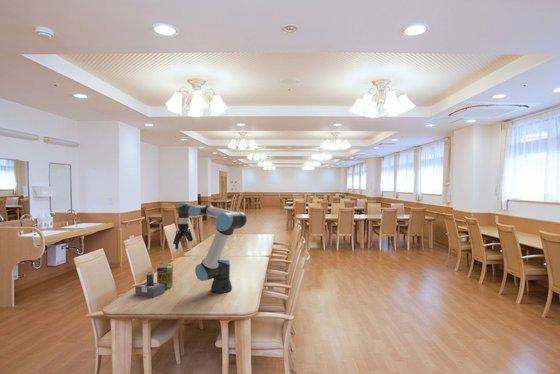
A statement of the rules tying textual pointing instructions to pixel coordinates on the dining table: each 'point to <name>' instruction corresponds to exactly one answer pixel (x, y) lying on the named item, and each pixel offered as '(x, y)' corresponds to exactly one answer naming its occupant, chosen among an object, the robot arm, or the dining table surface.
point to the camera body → (150, 290)
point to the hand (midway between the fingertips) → (183, 251)
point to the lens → (150, 279)
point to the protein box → (165, 274)
